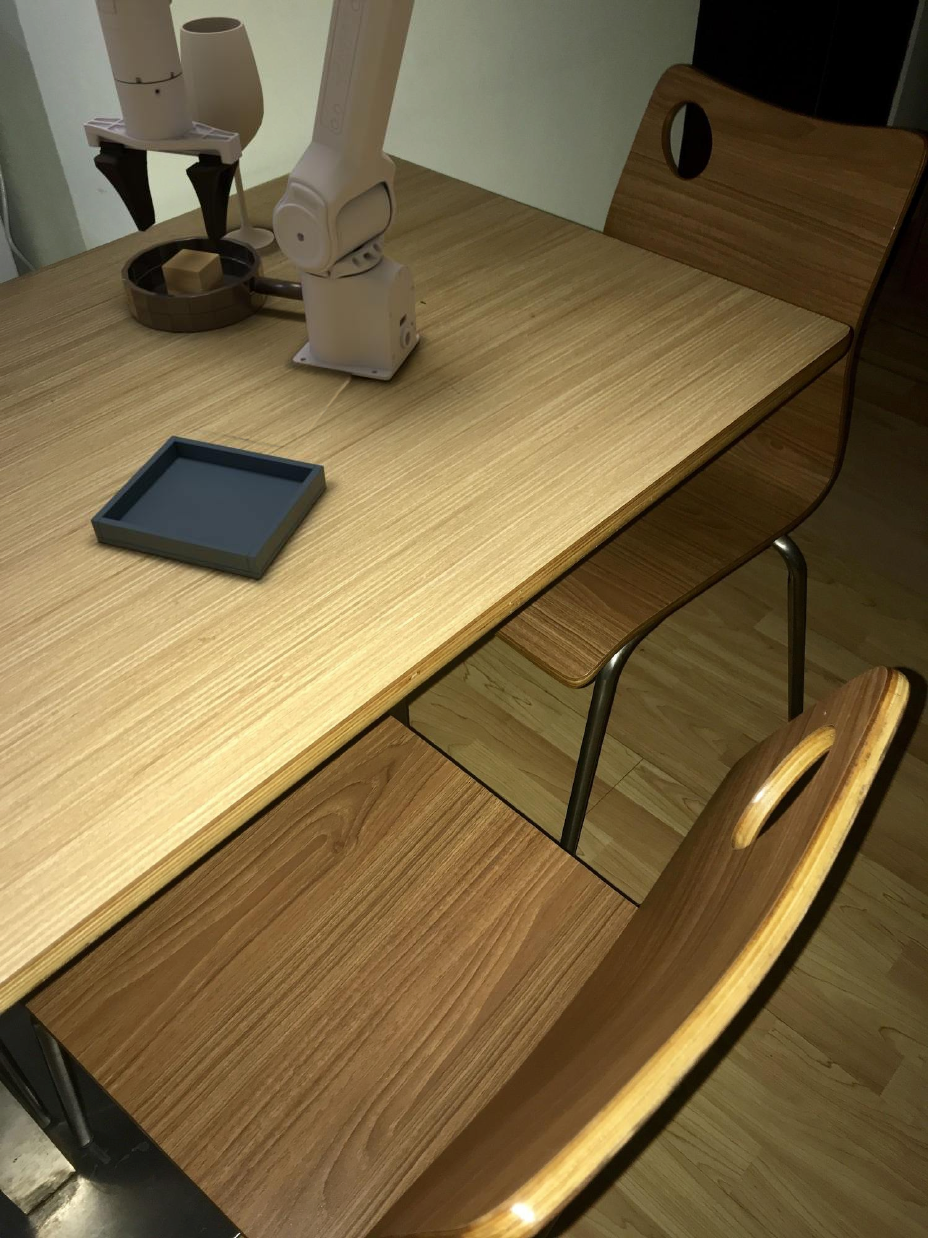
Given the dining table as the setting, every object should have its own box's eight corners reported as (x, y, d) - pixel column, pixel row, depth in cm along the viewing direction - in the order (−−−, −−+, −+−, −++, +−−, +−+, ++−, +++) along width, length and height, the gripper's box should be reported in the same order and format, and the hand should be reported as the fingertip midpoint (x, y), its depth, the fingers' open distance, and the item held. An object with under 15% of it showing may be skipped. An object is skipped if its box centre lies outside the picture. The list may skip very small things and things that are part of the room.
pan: (289, 283, 101) (284, 245, 98) (226, 346, 92) (218, 305, 89) (176, 266, 104) (168, 228, 101) (105, 325, 95) (93, 285, 93)
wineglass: (298, 237, 109) (269, 20, 94) (252, 264, 104) (213, 40, 90) (245, 222, 112) (209, 9, 97) (198, 248, 107) (153, 28, 93)
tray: (326, 486, 77) (323, 465, 75) (259, 579, 69) (254, 557, 68) (177, 455, 80) (172, 434, 78) (97, 541, 72) (89, 519, 71)
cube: (226, 292, 99) (219, 253, 96) (206, 311, 96) (198, 271, 93) (191, 287, 100) (183, 248, 97) (170, 305, 97) (161, 265, 94)
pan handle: (333, 299, 94) (331, 283, 93) (326, 307, 93) (324, 291, 92) (257, 288, 96) (255, 272, 95) (250, 295, 95) (247, 279, 94)
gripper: (247, 66, 85) (271, 224, 94) (101, 52, 88) (138, 206, 98) (205, 92, 80) (235, 255, 89) (53, 76, 83) (97, 235, 93)
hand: (182, 232), depth 93 cm, fingers open, 7 cm apart
